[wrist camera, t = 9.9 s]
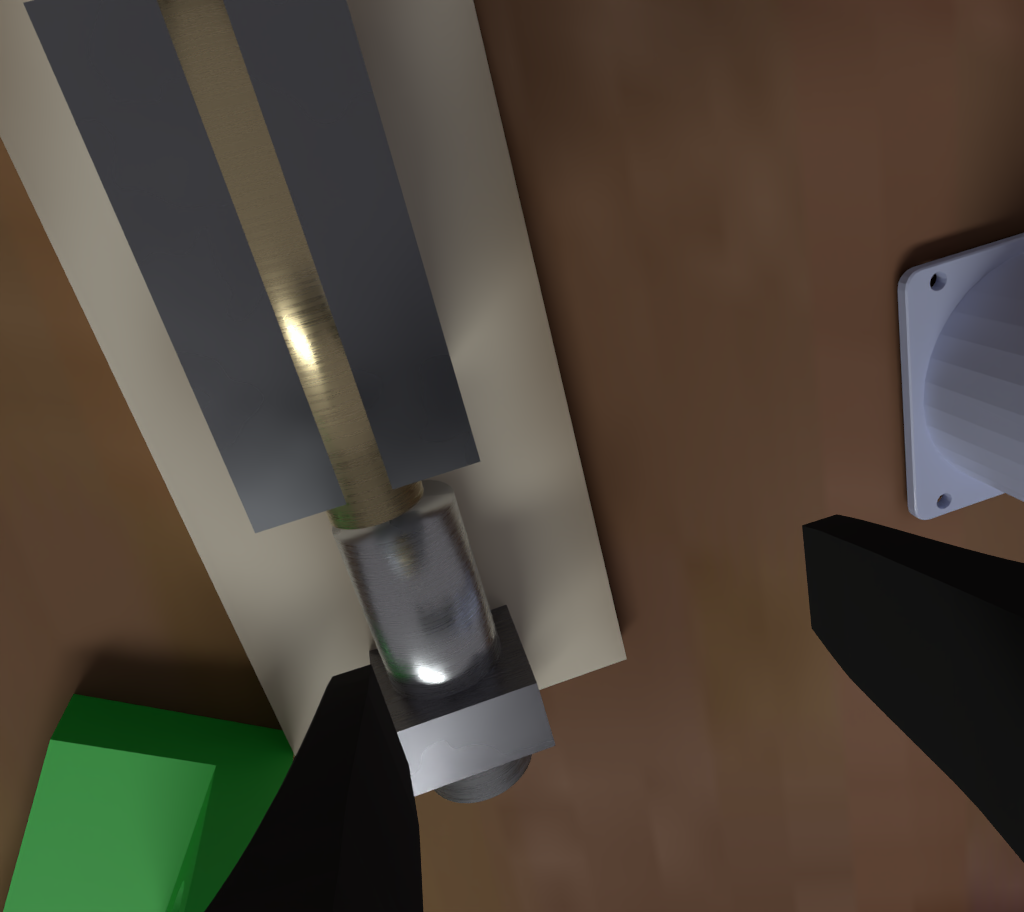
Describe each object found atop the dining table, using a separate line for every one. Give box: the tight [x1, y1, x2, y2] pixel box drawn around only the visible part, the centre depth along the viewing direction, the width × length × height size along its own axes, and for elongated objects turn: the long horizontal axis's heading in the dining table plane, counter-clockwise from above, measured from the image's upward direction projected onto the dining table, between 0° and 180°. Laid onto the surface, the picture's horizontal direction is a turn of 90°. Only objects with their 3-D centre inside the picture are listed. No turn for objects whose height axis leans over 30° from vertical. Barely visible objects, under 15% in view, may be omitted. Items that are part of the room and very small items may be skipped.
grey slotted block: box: [23, 0, 481, 533], centre depth 14 cm, size 4×9×6 cm, turn 14°
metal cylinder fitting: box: [332, 480, 555, 803], centre depth 19 cm, size 8×4×4 cm, turn 14°
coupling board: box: [0, 0, 626, 756], centre depth 17 cm, size 10×28×1 cm, turn 14°
